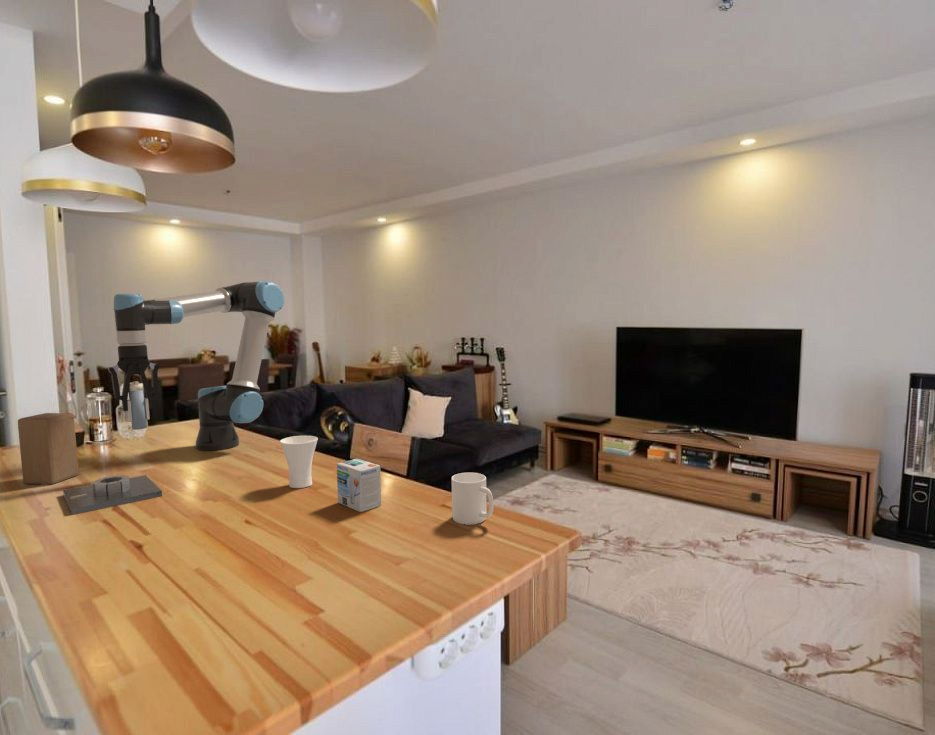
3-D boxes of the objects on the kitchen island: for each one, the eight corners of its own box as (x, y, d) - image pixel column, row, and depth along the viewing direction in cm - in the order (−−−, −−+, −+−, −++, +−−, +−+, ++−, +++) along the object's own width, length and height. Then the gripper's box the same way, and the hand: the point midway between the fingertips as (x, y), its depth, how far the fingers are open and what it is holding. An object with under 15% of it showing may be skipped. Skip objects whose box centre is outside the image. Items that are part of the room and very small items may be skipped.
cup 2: (469, 509, 132) (469, 470, 131) (505, 522, 123) (504, 480, 122) (444, 518, 126) (444, 477, 125) (480, 532, 117) (480, 489, 116)
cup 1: (290, 493, 145) (288, 445, 144) (276, 484, 153) (274, 439, 152) (325, 485, 152) (324, 439, 151) (310, 477, 160) (308, 433, 159)
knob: (130, 428, 162) (126, 381, 161) (145, 426, 165) (141, 380, 164) (133, 430, 159) (129, 382, 158) (148, 428, 162) (144, 381, 161)
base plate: (145, 479, 159) (144, 465, 159) (162, 495, 144) (161, 480, 144) (63, 495, 146) (62, 479, 145) (72, 514, 131) (70, 497, 130)
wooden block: (80, 475, 165) (75, 412, 163) (52, 485, 155) (46, 418, 153) (51, 474, 166) (45, 412, 164) (21, 484, 156) (15, 418, 154)
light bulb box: (336, 503, 138) (335, 463, 136) (358, 496, 142) (356, 457, 141) (361, 513, 130) (359, 470, 129) (382, 505, 135) (381, 465, 134)
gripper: (160, 342, 168) (166, 414, 171) (96, 345, 157) (103, 422, 159) (166, 343, 162) (172, 417, 165) (100, 346, 151) (108, 426, 154)
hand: (138, 419), depth 162 cm, fingers closed on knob, 4 cm apart
